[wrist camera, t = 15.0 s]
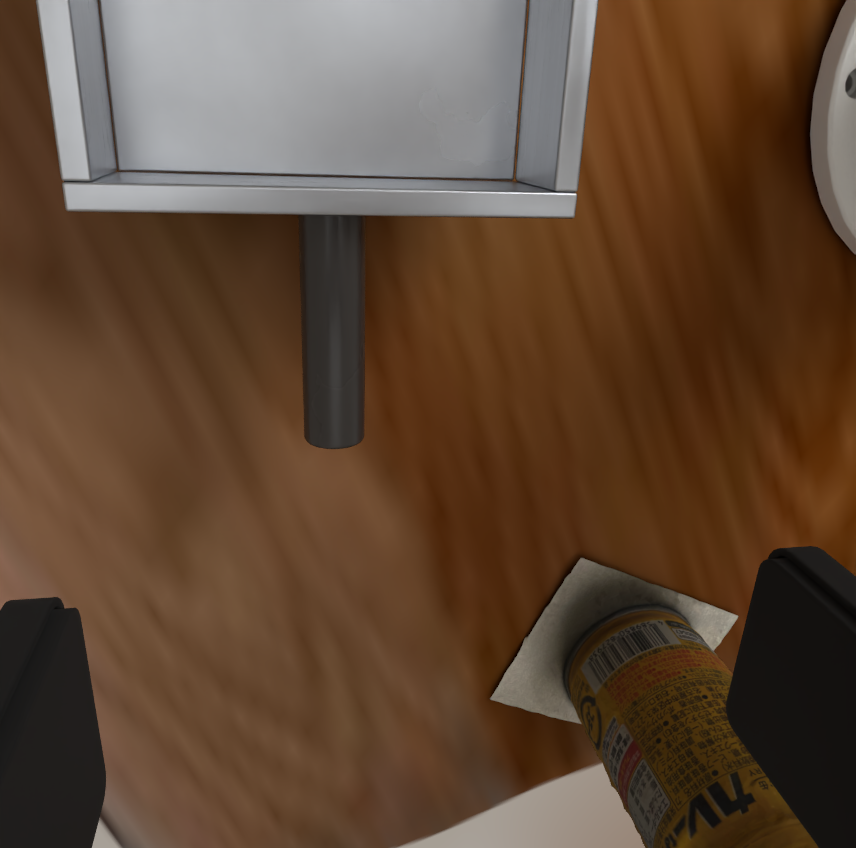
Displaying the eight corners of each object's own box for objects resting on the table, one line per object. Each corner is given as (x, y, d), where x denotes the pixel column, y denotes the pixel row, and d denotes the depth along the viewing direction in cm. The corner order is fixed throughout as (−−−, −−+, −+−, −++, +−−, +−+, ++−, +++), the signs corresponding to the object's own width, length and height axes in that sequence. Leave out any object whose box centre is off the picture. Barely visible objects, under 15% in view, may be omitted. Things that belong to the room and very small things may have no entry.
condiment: (645, 740, 34) (830, 1037, 23) (488, 696, 31) (613, 1011, 20) (735, 612, 32) (983, 867, 21) (577, 552, 29) (769, 811, 18)
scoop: (567, -285, 17) (641, -380, 14) (509, 402, 23) (550, 450, 20) (28, -371, 15) (-38, -510, 11) (126, 417, 21) (102, 474, 18)
